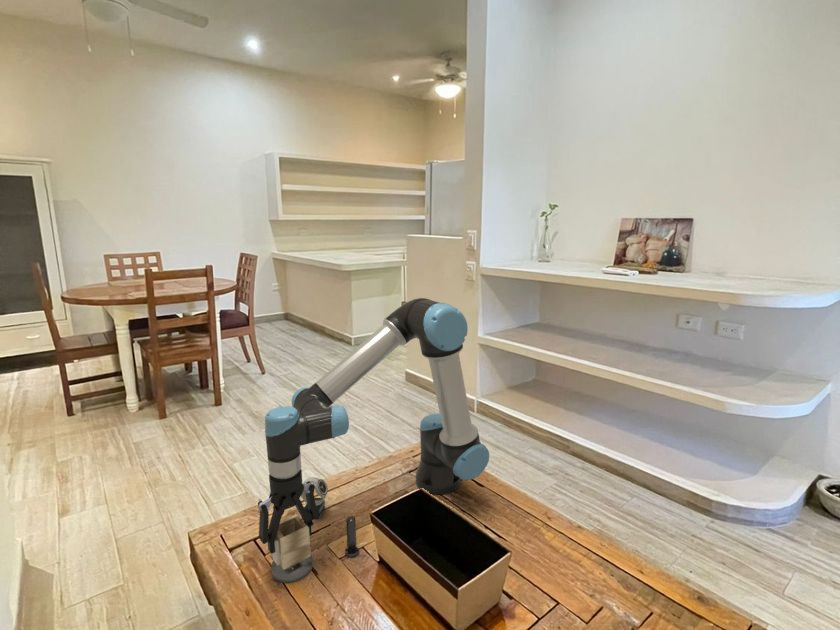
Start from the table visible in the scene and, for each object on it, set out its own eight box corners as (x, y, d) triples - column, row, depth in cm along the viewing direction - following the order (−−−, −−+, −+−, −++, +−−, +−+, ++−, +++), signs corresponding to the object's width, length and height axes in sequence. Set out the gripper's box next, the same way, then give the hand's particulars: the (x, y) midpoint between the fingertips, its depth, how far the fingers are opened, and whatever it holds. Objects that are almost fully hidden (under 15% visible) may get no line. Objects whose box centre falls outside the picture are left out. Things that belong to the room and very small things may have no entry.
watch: (324, 519, 129) (322, 485, 127) (298, 517, 130) (296, 483, 128) (331, 507, 134) (329, 475, 132) (306, 505, 136) (303, 473, 133)
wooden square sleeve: (298, 540, 115) (296, 513, 114) (310, 556, 110) (308, 527, 108) (272, 553, 111) (270, 525, 109) (283, 570, 106) (281, 540, 104)
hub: (313, 550, 117) (312, 525, 115) (312, 579, 107) (310, 552, 106) (274, 556, 115) (272, 530, 113) (269, 586, 105) (267, 559, 104)
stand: (358, 546, 118) (357, 513, 116) (359, 556, 115) (358, 522, 113) (345, 548, 117) (343, 515, 115) (345, 558, 114) (343, 524, 112)
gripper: (315, 451, 115) (320, 528, 119) (237, 479, 102) (245, 565, 107) (330, 462, 109) (334, 543, 114) (249, 494, 97) (257, 584, 101)
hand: (291, 554), depth 110 cm, fingers closed on wooden square sleeve, 7 cm apart
